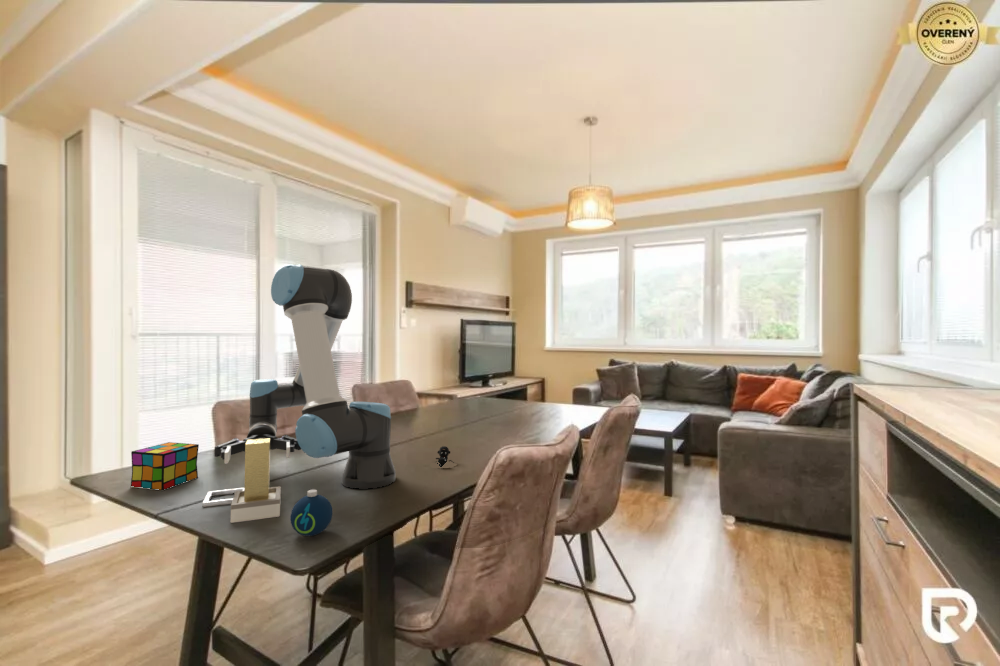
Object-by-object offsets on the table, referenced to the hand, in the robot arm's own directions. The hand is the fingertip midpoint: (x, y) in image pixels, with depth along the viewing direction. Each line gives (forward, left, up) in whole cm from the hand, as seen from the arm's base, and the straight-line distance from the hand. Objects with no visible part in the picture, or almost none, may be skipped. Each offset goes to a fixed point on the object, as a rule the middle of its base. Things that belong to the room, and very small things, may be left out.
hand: (258, 455), depth 113 cm
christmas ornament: (-14, +21, -13) cm, 28 cm away
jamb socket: (+8, -8, -13) cm, 17 cm away
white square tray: (-1, +4, -13) cm, 13 cm away
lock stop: (-1, +4, -10) cm, 10 cm away
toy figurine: (-52, -23, -13) cm, 58 cm away
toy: (+27, -27, -13) cm, 41 cm away
